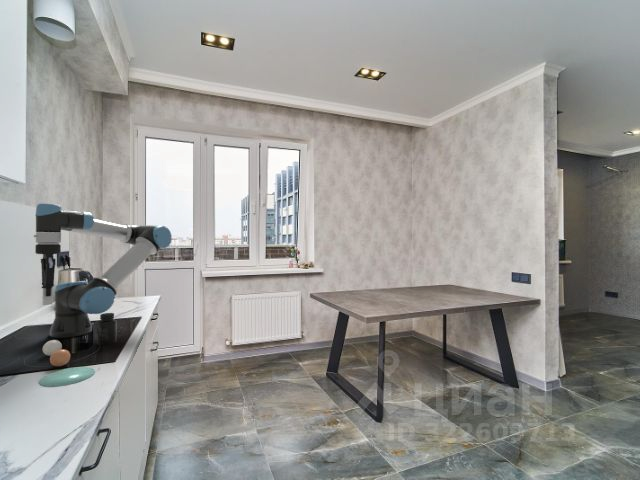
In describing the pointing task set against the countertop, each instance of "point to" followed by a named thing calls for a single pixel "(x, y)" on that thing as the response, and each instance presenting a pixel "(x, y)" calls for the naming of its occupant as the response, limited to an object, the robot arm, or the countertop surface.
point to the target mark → (66, 376)
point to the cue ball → (51, 347)
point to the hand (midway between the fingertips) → (47, 304)
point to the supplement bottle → (107, 329)
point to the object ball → (60, 357)
